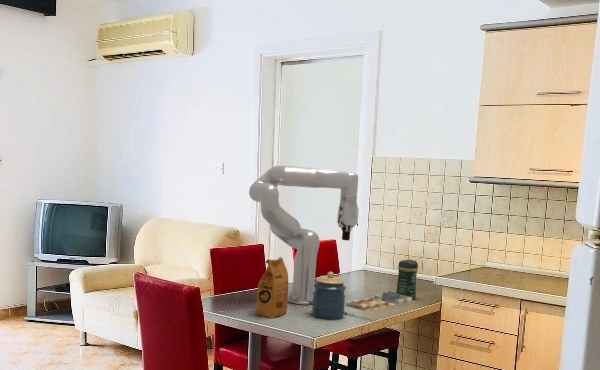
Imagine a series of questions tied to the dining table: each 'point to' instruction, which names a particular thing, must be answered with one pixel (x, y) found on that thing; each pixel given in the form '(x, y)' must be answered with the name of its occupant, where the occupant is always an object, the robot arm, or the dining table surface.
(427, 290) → the dining table surface
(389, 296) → the gray cube
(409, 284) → the coffee jar
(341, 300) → the canister
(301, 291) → the robot arm
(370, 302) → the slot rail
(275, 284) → the coffee package
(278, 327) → the dining table surface
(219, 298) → the dining table surface
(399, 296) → the grey cube
